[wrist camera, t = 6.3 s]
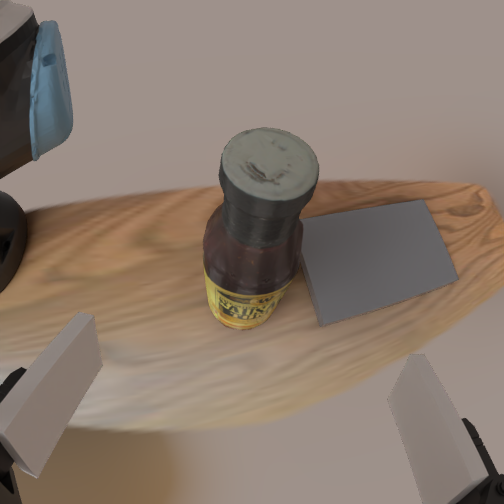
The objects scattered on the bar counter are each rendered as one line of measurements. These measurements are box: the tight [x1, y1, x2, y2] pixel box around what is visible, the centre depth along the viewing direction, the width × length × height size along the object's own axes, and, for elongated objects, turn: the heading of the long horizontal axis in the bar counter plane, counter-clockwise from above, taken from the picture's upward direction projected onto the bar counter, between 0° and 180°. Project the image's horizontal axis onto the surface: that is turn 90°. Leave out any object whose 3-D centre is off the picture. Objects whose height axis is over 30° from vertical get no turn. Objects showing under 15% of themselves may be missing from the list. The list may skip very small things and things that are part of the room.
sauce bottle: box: [203, 128, 319, 330], centre depth 21 cm, size 7×6×20 cm
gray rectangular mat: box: [300, 199, 459, 327], centre depth 32 cm, size 18×11×2 cm, turn 104°
